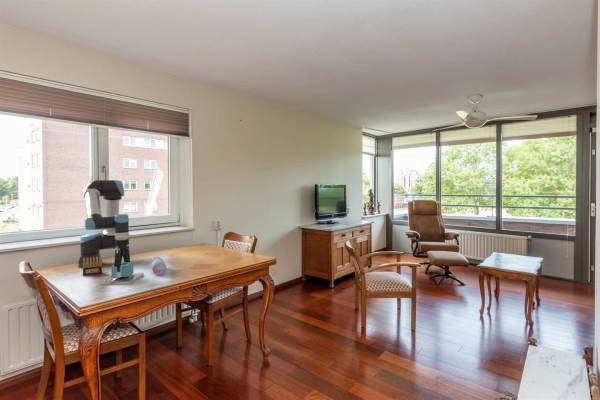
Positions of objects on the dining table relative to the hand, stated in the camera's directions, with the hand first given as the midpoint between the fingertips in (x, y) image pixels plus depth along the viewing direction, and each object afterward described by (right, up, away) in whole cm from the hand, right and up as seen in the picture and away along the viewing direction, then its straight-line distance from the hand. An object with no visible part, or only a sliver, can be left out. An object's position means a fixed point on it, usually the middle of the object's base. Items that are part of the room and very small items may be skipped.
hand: (122, 274), depth 193 cm
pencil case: (+14, -3, +18) cm, 23 cm away
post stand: (0, -3, 0) cm, 3 cm away
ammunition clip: (-26, -3, +11) cm, 29 cm away
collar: (0, 0, 0) cm, 0 cm away
